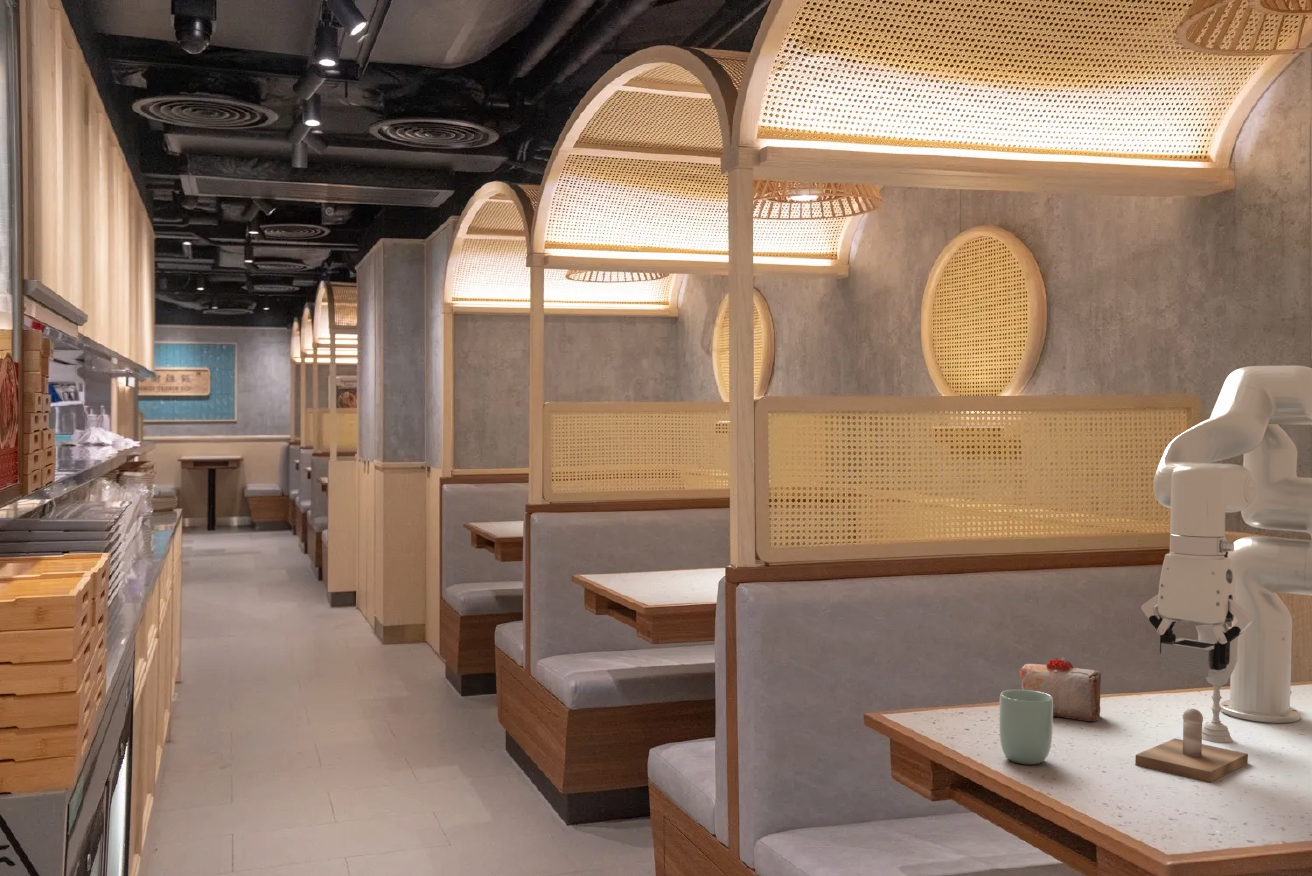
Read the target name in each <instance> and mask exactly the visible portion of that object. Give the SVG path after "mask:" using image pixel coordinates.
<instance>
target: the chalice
mask: <svg viewBox="0 0 1312 876" xmlns="http://www.w3.org/2000/svg"><path fill="white" fill-rule="evenodd" d="M1228 627H1229V629H1231V628H1232V626H1228ZM1195 629H1196V632H1197V634H1198V635H1197V636H1198V637H1197V638H1198V639H1197V640H1199V641H1205V642H1212V643H1217V637H1216V635H1215V633H1214V631H1213V629H1212V627H1211V625H1207V624H1199V625H1195ZM1237 655H1238V636H1237V637H1236V638H1235V639H1234V640H1233V641H1232V642H1230V661H1229V664H1228V665H1227V671H1226V672H1223V673H1220V674H1217V675H1214V676H1211V677H1205V679H1206V681H1207V683H1209V684H1211V685H1212V687H1213V693H1212V695H1211V699H1212V702H1213V703H1212V706H1211V707H1210V710H1211V711H1212V718H1211V719H1210V721H1207V722H1206V723H1205V724H1204V725H1203V726H1202V740H1205V741H1209V742H1214V743H1231V742H1232V741H1233V738H1232V737H1231V733H1230V731H1229V728H1228V726H1227V725H1226V724H1225V723H1222V721H1221V720H1220V713H1221V712H1222V711H1221V710H1222V709H1221V707H1220V703H1221V700H1222V699H1223V697H1222V696H1221V692H1220V689H1221V686H1224V685H1226V684H1227V683H1228V681H1229V679H1231V674H1232V672H1233V670H1234V668H1235V665H1236V663H1237Z"/></svg>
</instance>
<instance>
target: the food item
mask: <svg viewBox="0 0 1312 876" xmlns="http://www.w3.org/2000/svg"><path fill="white" fill-rule="evenodd" d="M1019 676H1020V682H1021V690H1031V691H1038V692H1043V693H1047V694H1049V695H1051V696H1052V697H1053V717H1057V718H1058V717H1059V718H1063V719H1064V718H1066V719H1072V720H1075V721H1076V720H1077V721H1085V722H1092V723H1093V722H1096V721H1099V720H1098V719H1099V718H1100V716H1101V683H1102V673H1101V672H1100V671H1099V670H1095V669H1090V668H1089V669H1086V668H1080V667H1074V666H1073V664H1072V663H1071V662H1070V661H1068V660H1066V658H1065V656H1063V657H1061V658H1060V659H1058V657H1055V659H1054V658H1052V659H1050V660H1048V663H1047V664H1042V663H1041V664H1040V663H1039V664H1038V663H1025V664H1024V665H1023V666H1022V668H1020V669H1019Z"/></svg>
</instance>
